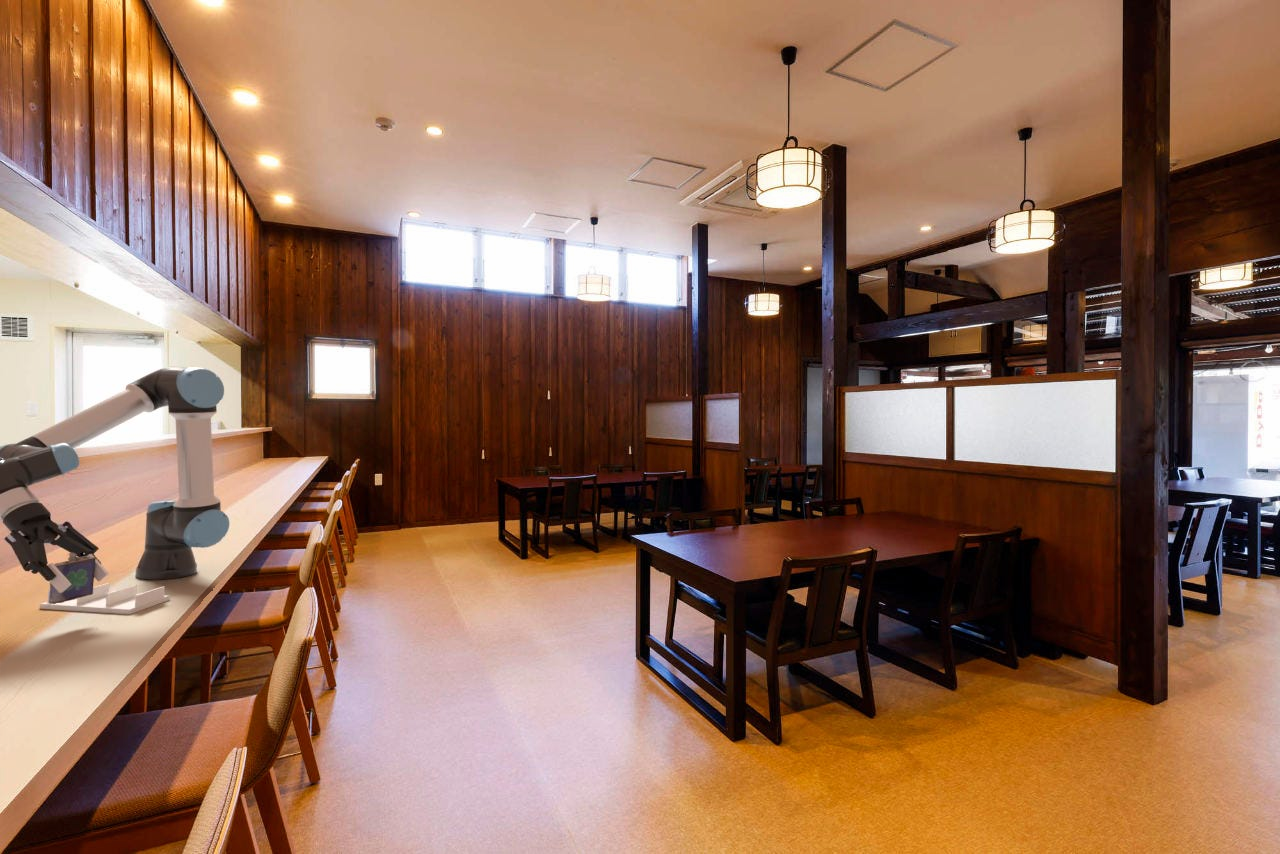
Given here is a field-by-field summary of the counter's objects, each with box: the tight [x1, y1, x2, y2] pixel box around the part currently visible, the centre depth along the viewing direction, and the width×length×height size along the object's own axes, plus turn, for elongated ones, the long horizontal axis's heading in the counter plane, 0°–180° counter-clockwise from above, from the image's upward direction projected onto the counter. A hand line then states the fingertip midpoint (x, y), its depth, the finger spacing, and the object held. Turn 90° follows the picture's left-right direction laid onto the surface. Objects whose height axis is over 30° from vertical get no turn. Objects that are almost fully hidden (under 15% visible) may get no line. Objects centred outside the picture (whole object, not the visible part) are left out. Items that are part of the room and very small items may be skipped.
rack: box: [39, 582, 171, 615], centre depth 159 cm, size 13×23×4 cm, turn 90°
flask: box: [49, 552, 97, 604], centre depth 143 cm, size 9×3×11 cm, turn 172°
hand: (85, 583), depth 143 cm, fingers closed on flask, 9 cm apart
